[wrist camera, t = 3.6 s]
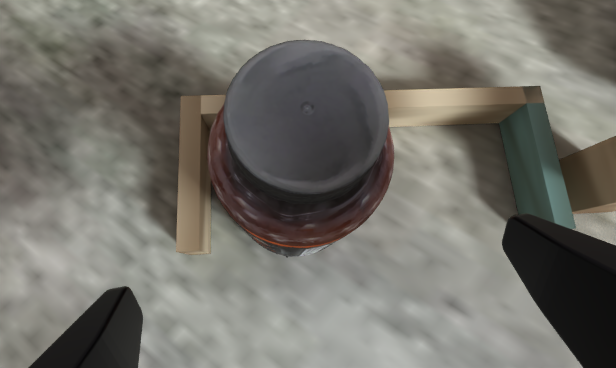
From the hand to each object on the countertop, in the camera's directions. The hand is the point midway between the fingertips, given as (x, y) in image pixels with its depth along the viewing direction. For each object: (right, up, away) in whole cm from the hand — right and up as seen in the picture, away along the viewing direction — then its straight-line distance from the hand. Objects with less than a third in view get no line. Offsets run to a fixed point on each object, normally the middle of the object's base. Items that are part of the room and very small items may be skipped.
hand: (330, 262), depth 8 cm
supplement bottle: (-1, +1, +11) cm, 11 cm away
